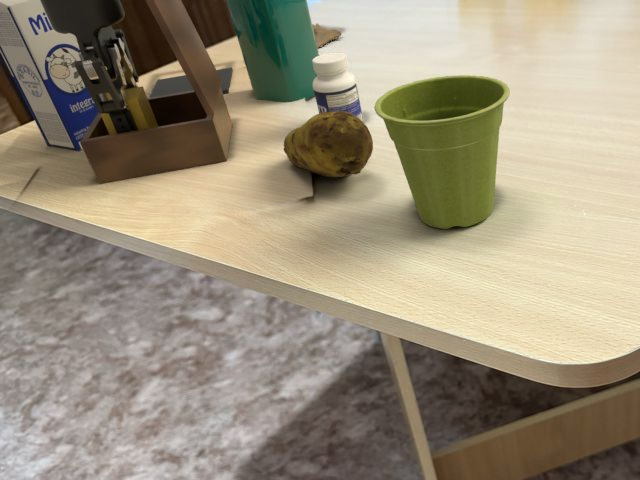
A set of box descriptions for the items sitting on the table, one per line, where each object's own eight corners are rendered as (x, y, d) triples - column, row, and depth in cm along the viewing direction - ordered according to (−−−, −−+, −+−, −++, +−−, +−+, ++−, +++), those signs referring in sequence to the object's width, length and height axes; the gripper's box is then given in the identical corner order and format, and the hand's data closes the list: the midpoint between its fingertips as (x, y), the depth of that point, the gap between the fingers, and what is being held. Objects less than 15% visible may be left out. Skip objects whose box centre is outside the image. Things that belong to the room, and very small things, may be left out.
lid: (128, -31, 68) (179, -50, 68) (147, -50, 78) (192, -67, 77) (207, 116, 78) (252, 100, 77) (216, 83, 87) (256, 68, 87)
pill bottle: (321, 127, 88) (304, 55, 83) (361, 119, 89) (346, 47, 84) (327, 142, 84) (309, 67, 79) (368, 133, 85) (354, 58, 80)
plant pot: (532, 189, 69) (526, 74, 62) (493, 249, 61) (482, 124, 54) (425, 181, 73) (408, 72, 66) (374, 237, 65) (349, 119, 58)
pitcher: (332, 87, 101) (293, -89, 87) (296, 108, 95) (248, -77, 82) (280, 83, 105) (235, -86, 91) (243, 103, 99) (189, -74, 86)
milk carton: (92, 131, 97) (20, -29, 84) (124, 135, 94) (54, -29, 81) (48, 151, 92) (-35, -14, 79) (80, 157, 89) (-1, -14, 77)
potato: (355, 149, 82) (340, 81, 77) (389, 190, 72) (375, 115, 67) (286, 167, 80) (267, 98, 75) (312, 212, 70) (292, 136, 65)
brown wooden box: (102, 190, 80) (79, 142, 76) (121, 149, 90) (102, 105, 86) (228, 167, 81) (212, 119, 78) (234, 129, 91) (220, 85, 88)
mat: (147, 106, 103) (146, 103, 102) (158, 82, 112) (157, 79, 112) (228, 93, 104) (227, 89, 104) (232, 70, 113) (231, 67, 113)
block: (123, 167, 83) (96, 104, 78) (129, 152, 86) (104, 92, 82) (161, 160, 83) (136, 98, 79) (166, 146, 87) (142, 86, 82)
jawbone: (352, 34, 125) (350, 22, 124) (296, 73, 111) (293, 60, 109) (308, 30, 127) (306, 18, 126) (247, 68, 113) (244, 55, 112)
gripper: (52, -30, 78) (115, 119, 88) (13, -4, 66) (91, 162, 77) (120, -40, 78) (175, 109, 89) (93, -16, 67) (159, 150, 78)
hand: (136, 133), depth 83 cm, fingers open, 5 cm apart
